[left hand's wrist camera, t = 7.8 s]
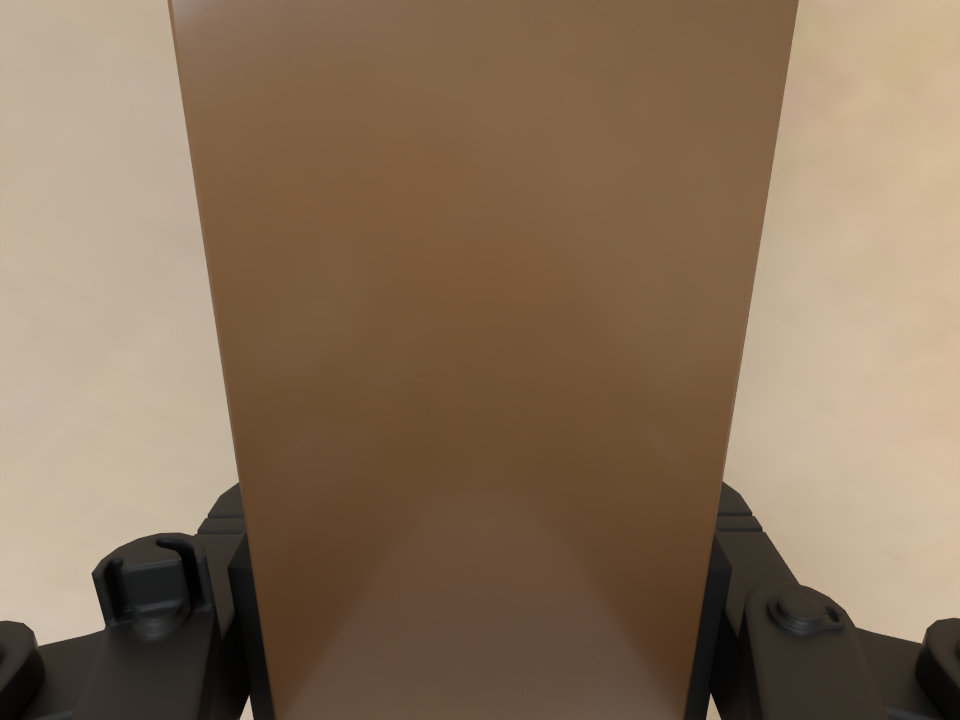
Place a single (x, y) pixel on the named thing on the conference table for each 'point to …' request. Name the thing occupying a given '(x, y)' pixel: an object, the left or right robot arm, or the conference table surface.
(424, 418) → the beam
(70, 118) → the conference table surface
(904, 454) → the conference table surface
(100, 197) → the conference table surface
